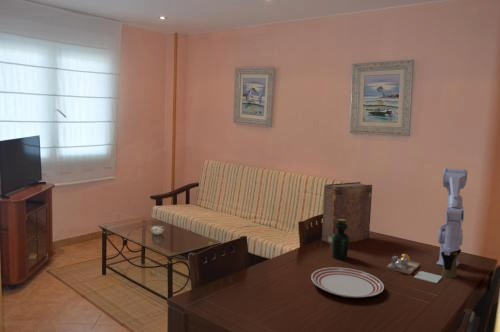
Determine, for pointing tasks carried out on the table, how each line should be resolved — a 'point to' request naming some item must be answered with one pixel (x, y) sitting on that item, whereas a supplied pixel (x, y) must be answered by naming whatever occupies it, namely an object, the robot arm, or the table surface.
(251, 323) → the table surface
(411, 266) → the shaft bracket
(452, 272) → the olive stepped cylinder
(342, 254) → the potion bottle
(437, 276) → the pale green mat
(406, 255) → the shaft
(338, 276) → the dinner plate
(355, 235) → the book
